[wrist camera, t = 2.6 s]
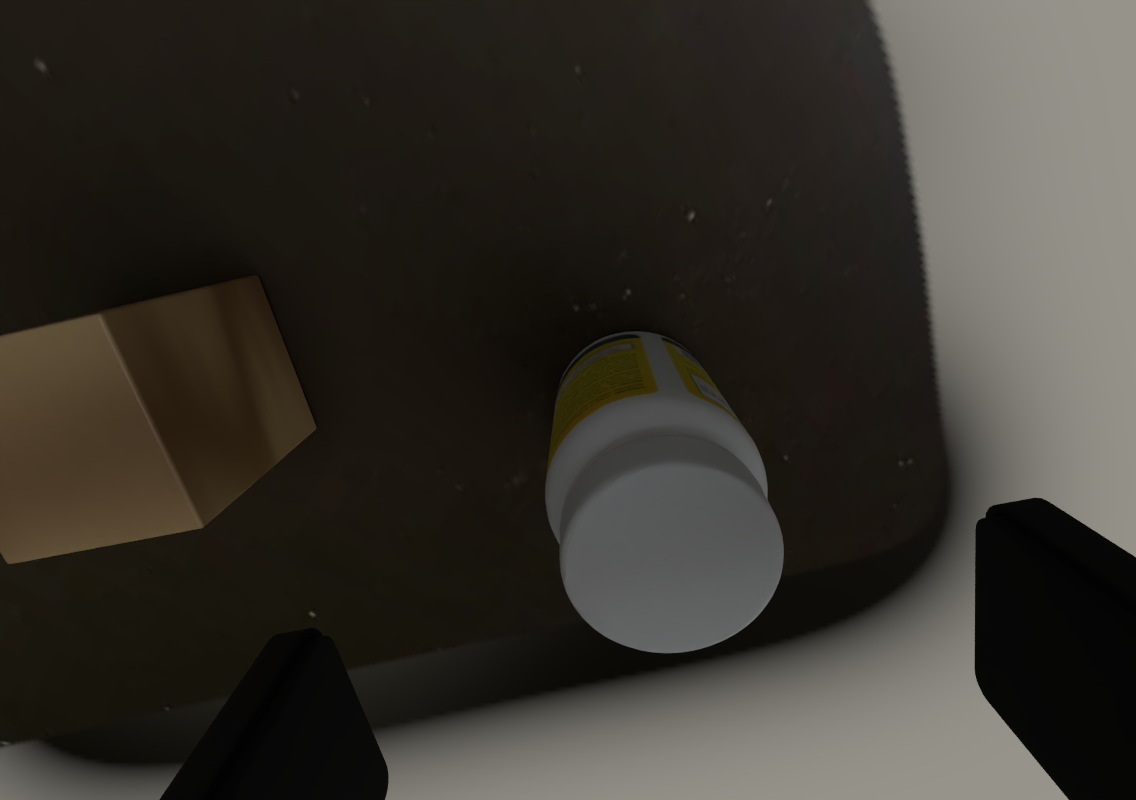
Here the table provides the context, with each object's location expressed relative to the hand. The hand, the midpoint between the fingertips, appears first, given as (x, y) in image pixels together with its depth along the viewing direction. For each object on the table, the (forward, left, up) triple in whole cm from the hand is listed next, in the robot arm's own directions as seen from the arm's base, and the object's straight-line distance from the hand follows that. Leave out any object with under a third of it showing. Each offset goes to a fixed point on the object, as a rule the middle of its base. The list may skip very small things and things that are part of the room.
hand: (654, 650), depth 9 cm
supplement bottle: (0, 0, -11) cm, 11 cm away
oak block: (+7, -11, -10) cm, 16 cm away
